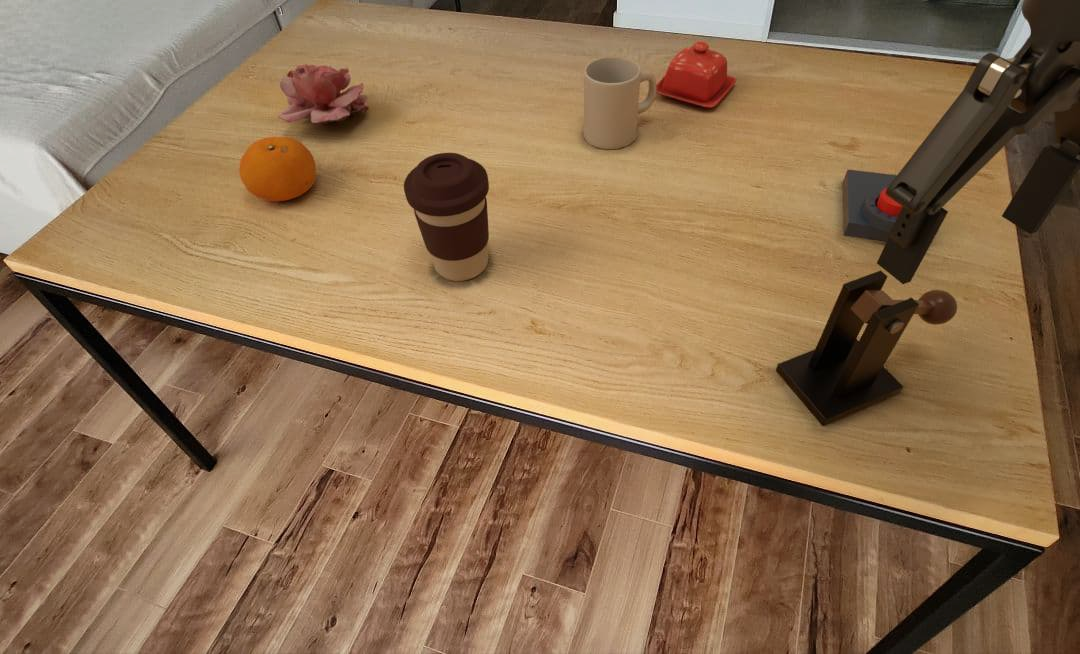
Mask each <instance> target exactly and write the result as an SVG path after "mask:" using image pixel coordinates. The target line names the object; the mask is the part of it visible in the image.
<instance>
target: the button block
mask: <svg viewBox="0 0 1080 654" xmlns="http://www.w3.org/2000/svg"><path fill="white" fill-rule="evenodd" d="M897 175H898V174H891V173H890V174H889V173H882V172H873V171H864V170H856V169H849V168H848V169H846V172H845V175H844V178H843V180H842V208H843V209H842V210H843V213H842V214H843V236H847V237H855V238H862V239H868V240H876V241H883V242H887V240H888V238H889V236H890V232H891V230H892V228H893V227H894V224H895V222H896V220H897V218H898V217H897V216H890V215H888V214H886V213H884V212H881V211H880V210H879V209H878V208H877V201H878V199H879V197H880V194H881V192H882V191H883V190H884V189H886V188H888V186H889V185H890V184H891V183H892V181H893V180H894V179H895V177H896V176H897Z"/></svg>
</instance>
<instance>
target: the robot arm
mask: <svg viewBox="0 0 1080 654" xmlns="http://www.w3.org/2000/svg"><path fill="white" fill-rule="evenodd" d="M1021 13H1022V16H1023V18H1024V19H1025V20H1026V21H1027V23H1028V25H1029V29H1030V30H1029V31H1030V34H1029V36H1028V37H1027V39H1026V40H1025V42H1024V43H1023V44H1022V46H1021V48H1020V49H1019V50H1018V51H1017V52H1016V54H1015V55H1014V56H1013V57H1010V58H1005V57H1003V56H1000V55H998V54H995V53H993V52H988V53H986V54H985V55H983V56H982V57H981V58H980V59H979V61H978V62H977V64H976V66H975V68H974V70H973V71H972V72H971V75H970V76H969V79H968V80H967V82H966V83H965V85H964V87H963V89H962V91H960V94H959V95H958V96H957V97H956V98H955V100H954V101H953V102H952V104H951V105H950V106H949V108H948V109H947V110H946V112H945V113H944V114H943V115H942V117H941V118H940V119H939V120H938V122H937V123H936V124H935V126H934V127H933V128H932V130H931V131H930V132H929V133H928V135H927V136H926V137H925V139H924V140H923V141H922V142H921V144H920V145H919V146H918V148H917V149H916V150H915V152H914V153H913V154H912V155H911V157H910V158H909V159H908V161H907V162H906V163H905V165H903V166H902V168H901V169H900V171H899V172H898V173H897V174H896V175H897V176H896V177H895V179H894V180H893V181H892V183H891V184H890V185H889V186H888V188H887V190H886V195H887V196H889V197H890V198H891V199H893V200H894V201H895V202H897V203H898V204H900V205H901V206H903V207H902V209H901V211H900V213H899V215H898V218H897V220H896V222H895V224H894V227H893V228H892V230H891V232H890V236H889V238H888V240H887V241H885V245H884V246H883V249H882V251H881V253H880V255H879V257H878V259H877V261H876V264H877V265H878V266H880V268H882V269H883V270H884V271H886V272H887V273H888V274H889V275H891V276H892V277H893V278H894V279H896V280H897V281H898V282H899V283H900V284H902V285H905V284H908V283H910V282H912V280H913V278H914V276H915V274H916V273H917V270H918V269H919V267H920V265H921V263H922V262H923V260H924V259H925V256H926V254H927V253H928V250H929V249H930V247H931V245H932V243H933V241H934V240H935V237H936V236H937V233H938V232H939V230H940V228H941V226H942V225H943V223H944V221H945V218H946V217H947V215H948V213H949V211H948V210H946V209H945V208H943V207H944V206H945V205H946V204H947V203H948V202H950V200H951V199H952V198H953V197H955V195H957V194H958V192H959V191H960V190H962V189H963V188H964V186H965V185H967V184H968V183H969V182H970V181H971V180H972V179H973V178H974V177H975V176H976V175H977V174H978V173H979V172H980V171H981V170H982V169H983V168H984V167H985V166H986V165H987V164H988V163H989V162H990V161H992V159H993V158H995V156H996V155H997V154H998V153H999V152H1000V151H1002V150H1003V148H1004V147H1005V146H1006V145H1007V144H1009V142H1010V141H1011V140H1013V138H1014V137H1016V136H1018V135H1026V134H1028V133H1030V132H1031V131H1032V130H1033V129H1034V128H1035V127H1036V126H1037V125H1039V123H1040V122H1041V121H1043V120H1044V119H1045V118H1046V117H1048V116H1050V115H1051V114H1053V115H1054V116H1053V117H1054V136H1055V137H1054V138H1055V139H1054V140H1055V144H1056V145H1058V146H1059V147H1058V148H1057V146H1054V145H1052V144H1049V145H1047V146H1043V148H1042V149H1041V152H1040V153H1039V155H1038V156H1037V158H1036V159H1035V161H1034V163H1033V164H1032V166H1031V168H1030V170H1028V173H1027V174H1026V175H1025V178H1024V179H1023V181H1022V182H1021V184H1020V186H1019V187H1018V188H1017V190H1016V192H1015V193H1014V195H1013V197H1012V198H1011V200H1010V202H1009V203H1008V205H1007V206H1006V208H1005V209H1004V212H1003V213H1002V214H1001V217H1002V218H1004V219H1005V220H1007V221H1008V222H1010V223H1012V224H1013V225H1015V226H1016V227H1017V228H1019V229H1021V230H1022V231H1024V232H1026V233H1028V234H1029V235H1033V234H1035V233H1038V231H1039V229H1040V228H1041V227H1042V225H1043V223H1044V222H1045V221H1046V220H1047V218H1048V216H1049V215H1050V214H1051V212H1052V210H1053V209H1054V207H1056V204H1057V203H1058V202H1059V200H1060V199H1061V198H1062V195H1063V194H1064V193H1065V191H1066V190H1067V188H1068V187H1069V185H1070V184H1071V182H1072V181H1073V180H1074V178H1075V177H1076V175H1077V174H1078V172H1079V171H1080V0H1023V1H1022V4H1021Z"/></svg>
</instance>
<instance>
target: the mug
mask: <svg viewBox="0 0 1080 654" xmlns="http://www.w3.org/2000/svg"><path fill="white" fill-rule="evenodd" d="M646 81H648V91H647V95H646V98H645V99H644V100H642V101H641V102H640V92H641V91H640V89H641V88H640V87H641V83H643V82H646ZM656 85H657V79H656V75H655V74H654V73H653V71H651V70H649V69H645V70H644V69H643V70H641V67H640V65H639V64H638V63H637V62H635V61H633V60H632V59H630V58H626V57H621V56H619V57H618V56H605V57H600V58H597V59H594V60H592V61H590V62H588V63H587V65H586V66H585V68H584V70H583V131H582V132H583V139H584V140H585V141H586V142H587V143H588V144H589V145H590V146H592V147H594V148H596V149H602V150H619V149H622V148H626V147H627V146H629V145H631V144H632V143H634V141H635V139H636V137H637V133H638V119H639V114H642V113H644V112H647V111H648V110H649V109H650V108H651V107H652V106H653V104H654V102H655V99H656V94H657V93H656Z"/></svg>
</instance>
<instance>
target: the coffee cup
mask: <svg viewBox="0 0 1080 654" xmlns="http://www.w3.org/2000/svg"><path fill="white" fill-rule="evenodd" d="M489 189H490V183H489V175H488V171H487V170H486V168H485V167H484V165H482V164H481V163H480V162H478V161H476V160H474V159H472V158H468V157H467V156H466V155H462V154H460V153H456V152H441V153H436V154H433V155H430V156H428V157H425V158H424V159H422V160H420V162H419V163H418V164H417V165H416V166H415V167H413V169H411V170H410V171H409V172H408V174H407V175H406V177H405V179H404V182H403V191H404V196H405V199H406V201H407V203H408V205H409V206H410V207H411V208H412V209H413V212H414V216H415V219H416V222H417V226H418V229H419V231H420V234H421V237H422V240H423V243H424V246H425V248H426V250H427V251H428V253H429V255H430V258H431V262H432V265H433V268H434V269H435V271H436V273H437V274H438V275H439V276H440V277H442V278H443V279H445V280H448V281H454V282H455V281H456V282H463V281H468V280H471V279H474V278H476V277H478V276H479V275H481V274H482V273H483V272H484V271H485V269H486V268H487V266H488V263H489V243H488V242H489V238H490V233H489V215H488V214H489V213H488V200H487V195H488V193H489Z"/></svg>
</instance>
